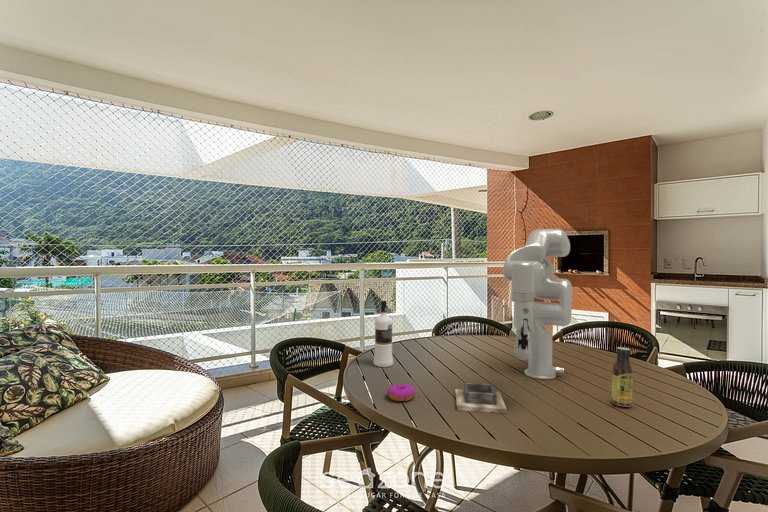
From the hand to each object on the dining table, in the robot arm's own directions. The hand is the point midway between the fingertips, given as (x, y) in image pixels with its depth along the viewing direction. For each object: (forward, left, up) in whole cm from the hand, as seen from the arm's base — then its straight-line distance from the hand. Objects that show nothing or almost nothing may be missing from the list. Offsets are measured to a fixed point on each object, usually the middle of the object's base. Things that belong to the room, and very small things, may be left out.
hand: (521, 349), depth 136 cm
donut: (+42, +2, -19) cm, 46 cm away
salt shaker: (0, 0, -3) cm, 3 cm away
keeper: (+15, +2, -19) cm, 24 cm away
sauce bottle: (-34, -4, -19) cm, 40 cm away
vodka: (+55, -37, -19) cm, 69 cm away
